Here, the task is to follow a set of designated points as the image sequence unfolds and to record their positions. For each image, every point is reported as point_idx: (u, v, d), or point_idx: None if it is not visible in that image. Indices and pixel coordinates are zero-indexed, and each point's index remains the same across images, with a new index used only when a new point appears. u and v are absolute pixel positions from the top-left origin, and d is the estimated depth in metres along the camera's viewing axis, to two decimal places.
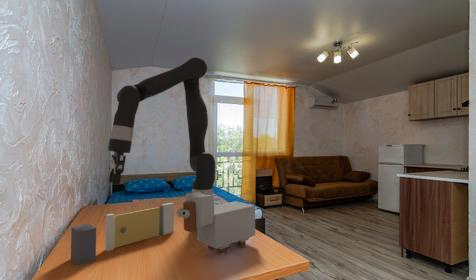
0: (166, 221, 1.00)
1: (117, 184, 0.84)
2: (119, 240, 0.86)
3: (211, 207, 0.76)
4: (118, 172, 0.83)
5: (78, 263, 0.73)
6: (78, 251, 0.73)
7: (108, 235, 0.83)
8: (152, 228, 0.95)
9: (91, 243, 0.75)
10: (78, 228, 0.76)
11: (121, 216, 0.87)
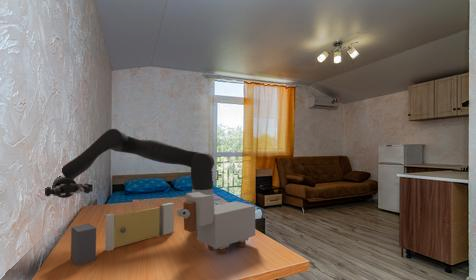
0: (166, 221, 1.00)
1: (58, 191, 0.82)
2: (119, 240, 0.86)
3: (211, 207, 0.76)
4: (49, 192, 0.83)
5: (78, 263, 0.73)
6: (78, 251, 0.73)
7: (108, 235, 0.83)
8: (152, 228, 0.95)
9: (91, 243, 0.75)
10: (78, 228, 0.76)
11: (121, 216, 0.87)
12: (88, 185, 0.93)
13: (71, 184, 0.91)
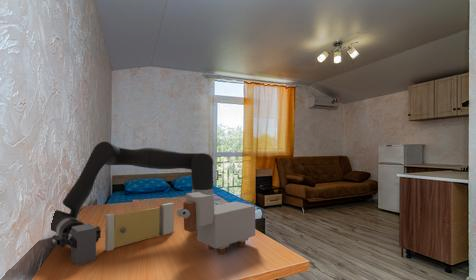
0: (166, 221, 1.00)
1: (74, 243, 0.73)
2: (119, 240, 0.86)
3: (211, 207, 0.76)
4: (63, 243, 0.74)
5: (78, 263, 0.72)
6: (78, 251, 0.73)
7: (108, 235, 0.83)
8: (152, 228, 0.95)
9: (91, 243, 0.75)
10: (78, 228, 0.76)
11: (121, 216, 0.87)
12: (96, 230, 0.82)
13: None
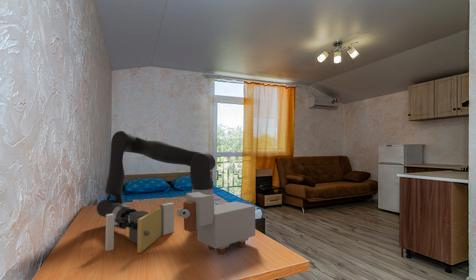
0: (166, 221, 1.00)
1: (135, 225, 0.87)
2: (143, 244, 0.82)
3: (211, 207, 0.76)
4: (125, 225, 0.89)
5: None
6: None
7: (108, 235, 0.83)
8: (158, 229, 0.94)
9: None
10: (136, 213, 0.91)
11: (144, 219, 0.83)
12: None
13: None
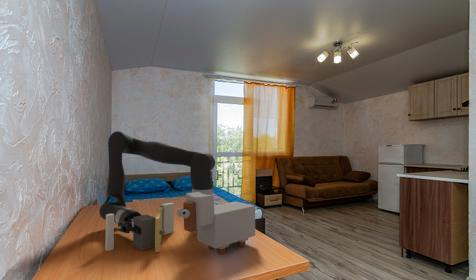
0: (166, 221, 1.00)
1: (139, 230, 0.83)
2: None
3: (211, 207, 0.76)
4: (129, 230, 0.85)
5: (142, 248, 0.83)
6: (142, 237, 0.83)
7: (108, 235, 0.83)
8: (161, 229, 0.95)
9: (152, 231, 0.86)
10: (140, 218, 0.87)
11: (159, 218, 0.84)
12: None
13: None
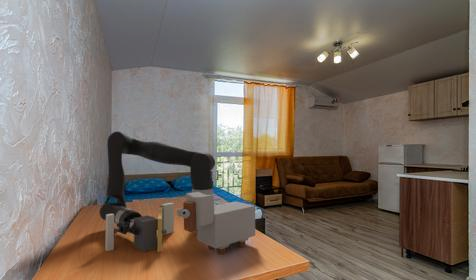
0: (166, 221, 1.00)
1: (136, 231, 0.82)
2: None
3: (211, 207, 0.76)
4: (126, 230, 0.83)
5: (144, 249, 0.82)
6: (143, 239, 0.83)
7: (108, 235, 0.83)
8: None
9: (153, 232, 0.85)
10: (141, 219, 0.86)
11: (161, 218, 0.84)
12: None
13: None
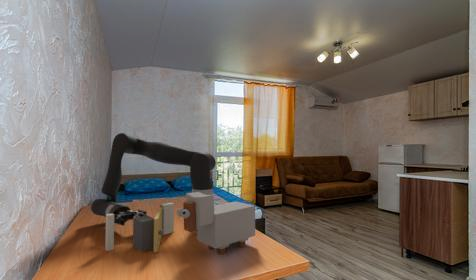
0: (166, 221, 1.00)
1: (122, 221, 0.90)
2: None
3: (211, 207, 0.76)
4: None
5: (142, 249, 0.82)
6: (142, 239, 0.82)
7: (108, 235, 0.83)
8: (161, 229, 0.95)
9: (152, 232, 0.85)
10: (140, 219, 0.86)
11: (158, 218, 0.83)
12: (142, 212, 1.01)
13: (128, 211, 1.00)
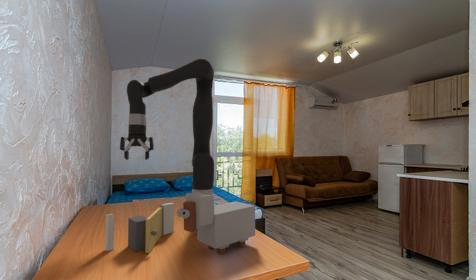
0: (166, 221, 1.00)
1: (126, 159, 1.10)
2: (150, 244, 0.82)
3: (211, 207, 0.76)
4: None
5: (136, 250, 0.82)
6: (136, 239, 0.82)
7: (108, 235, 0.83)
8: (159, 229, 0.95)
9: None
10: (134, 219, 0.86)
11: (151, 219, 0.83)
12: None
13: (138, 141, 1.10)
